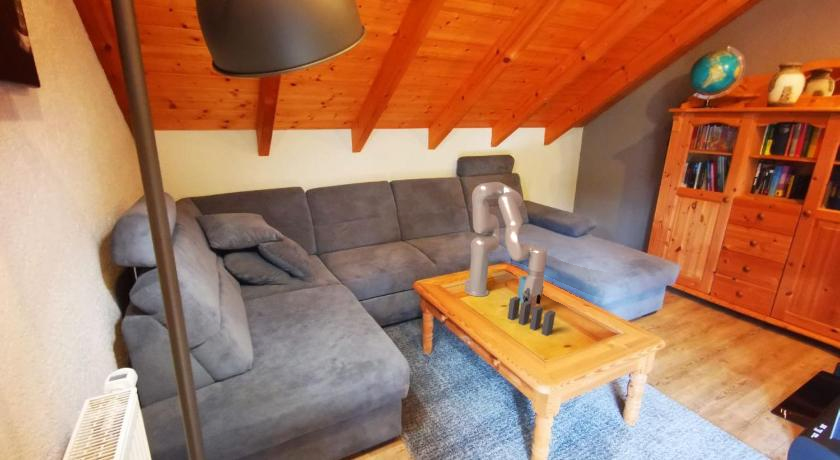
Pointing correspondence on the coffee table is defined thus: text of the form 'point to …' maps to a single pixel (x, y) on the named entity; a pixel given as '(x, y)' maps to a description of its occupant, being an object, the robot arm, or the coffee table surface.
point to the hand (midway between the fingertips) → (531, 305)
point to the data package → (521, 288)
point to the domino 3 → (532, 302)
